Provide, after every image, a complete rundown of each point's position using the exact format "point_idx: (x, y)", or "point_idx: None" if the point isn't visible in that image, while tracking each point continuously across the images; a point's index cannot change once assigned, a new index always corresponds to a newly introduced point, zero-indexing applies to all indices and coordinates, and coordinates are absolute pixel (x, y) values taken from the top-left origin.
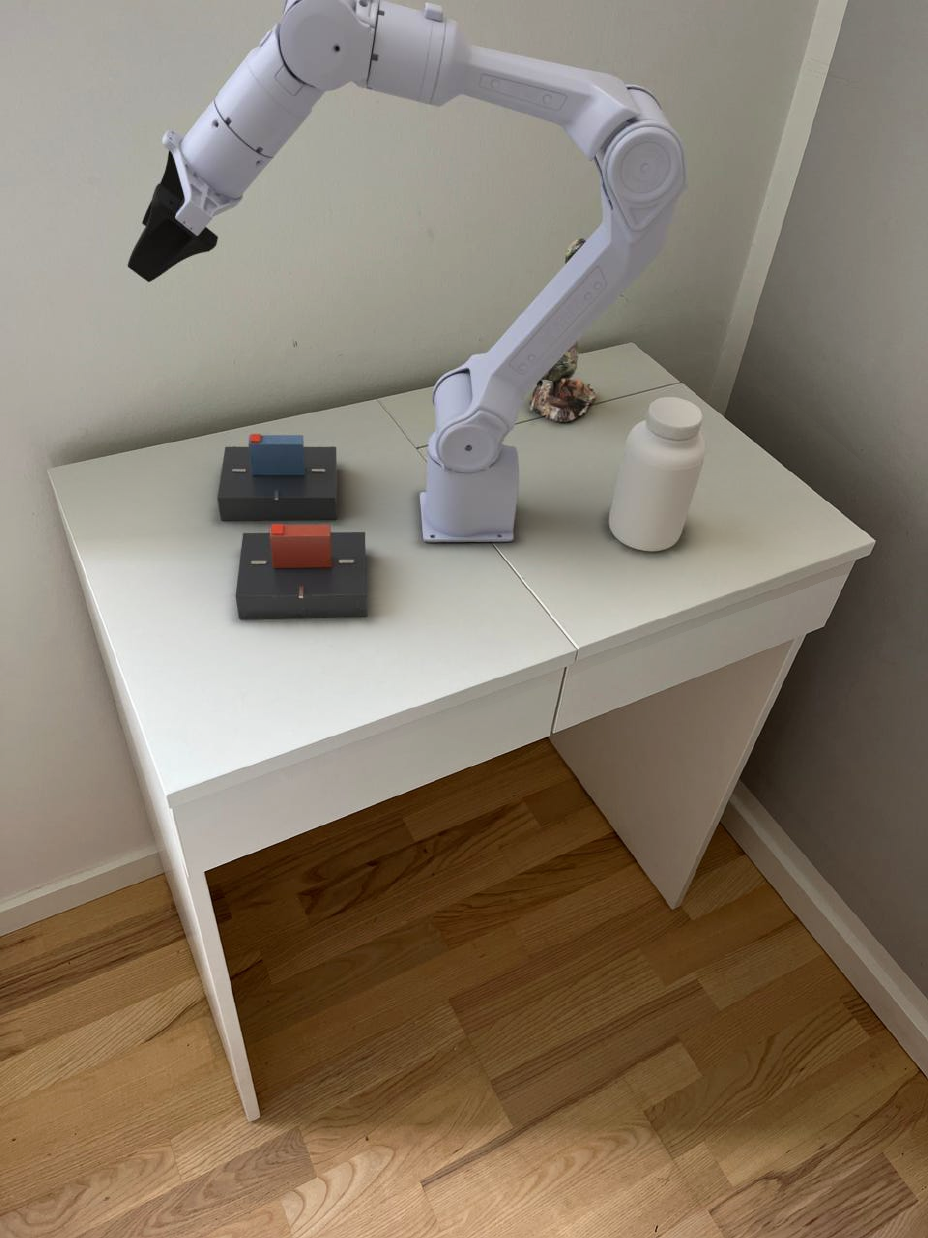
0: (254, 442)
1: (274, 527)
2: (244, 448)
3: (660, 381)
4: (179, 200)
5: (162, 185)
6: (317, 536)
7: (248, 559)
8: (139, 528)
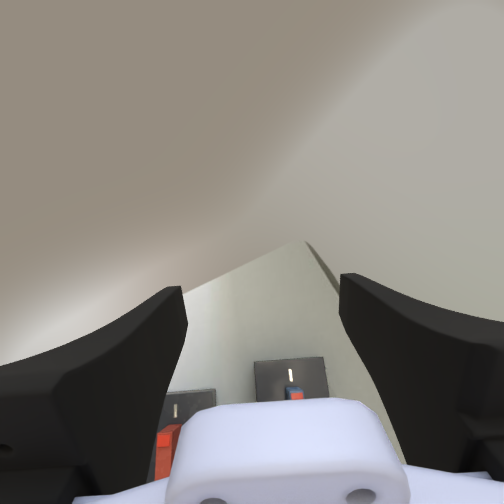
0: (291, 397)
1: (164, 437)
2: (322, 374)
3: None
4: (75, 463)
5: (388, 313)
6: None
7: (180, 401)
8: (243, 304)
